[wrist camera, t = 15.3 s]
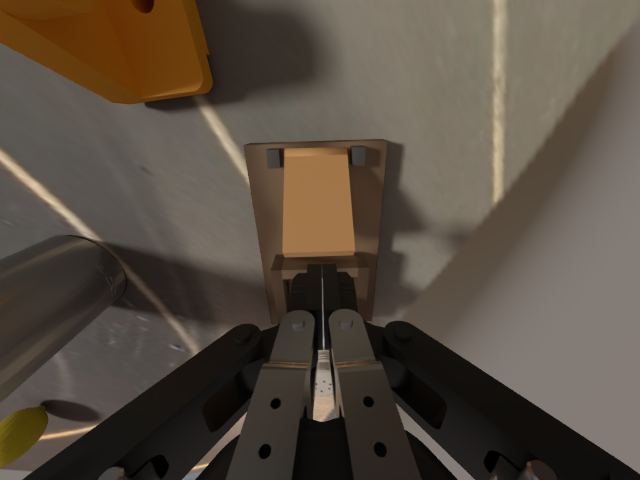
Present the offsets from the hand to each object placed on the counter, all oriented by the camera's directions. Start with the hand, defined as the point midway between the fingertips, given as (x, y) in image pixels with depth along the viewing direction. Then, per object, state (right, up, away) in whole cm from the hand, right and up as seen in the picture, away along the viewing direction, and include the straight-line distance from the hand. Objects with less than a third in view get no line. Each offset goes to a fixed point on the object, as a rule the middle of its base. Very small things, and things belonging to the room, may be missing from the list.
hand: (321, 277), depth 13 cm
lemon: (-44, -25, +26) cm, 57 cm away
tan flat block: (0, +5, +6) cm, 8 cm away
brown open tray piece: (0, +2, +13) cm, 14 cm away
